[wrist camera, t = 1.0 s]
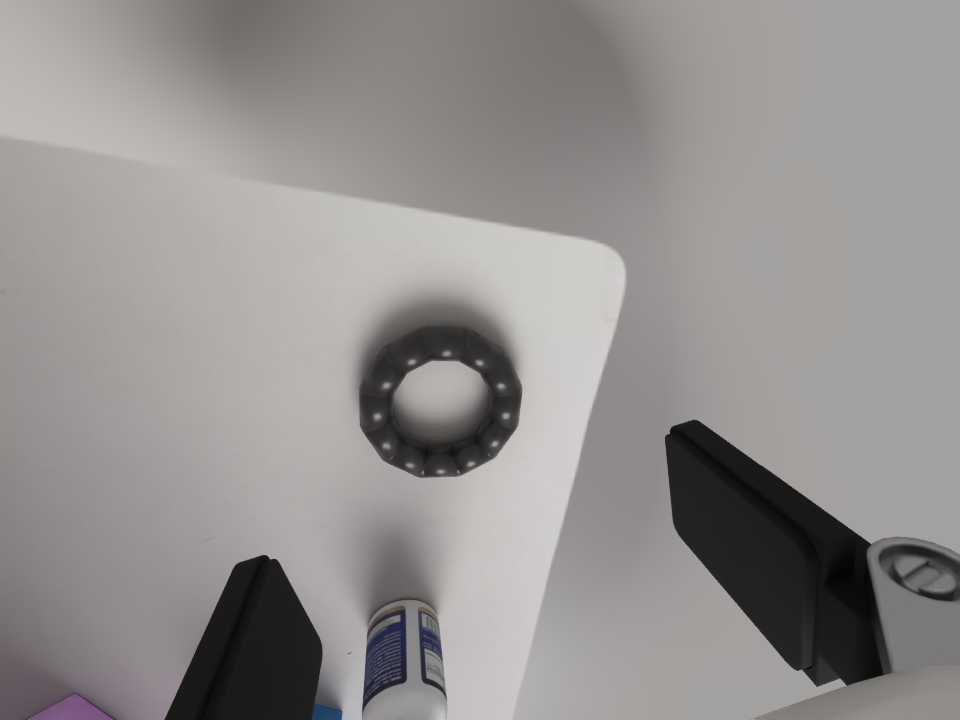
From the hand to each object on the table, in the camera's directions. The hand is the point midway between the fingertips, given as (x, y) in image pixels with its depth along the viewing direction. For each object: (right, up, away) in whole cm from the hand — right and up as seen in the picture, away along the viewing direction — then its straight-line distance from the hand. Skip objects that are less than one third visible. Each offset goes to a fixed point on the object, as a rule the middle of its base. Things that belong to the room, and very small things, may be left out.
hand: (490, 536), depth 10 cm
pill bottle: (-6, -16, +24) cm, 30 cm away
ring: (-3, +1, +17) cm, 17 cm away
